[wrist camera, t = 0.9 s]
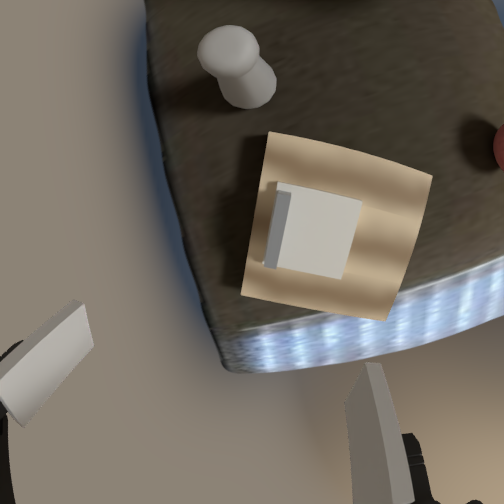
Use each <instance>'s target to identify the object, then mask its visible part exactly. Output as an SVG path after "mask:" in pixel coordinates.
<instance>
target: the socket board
mask: <svg viewBox="0 0 504 504" xmlns="http://www.w3.org/2000/svg"><path fill="white" fill-rule="evenodd" d="M278 181H280V182H285V183H290V184H295V185H300V186H305V187H309V188H314V189H318V190H323V191H327V192H331V193H336V194H340V195H344V196H348V197H352V198H356V199H360V200H362V201H363V202H362V206H361V210H360V214H359V218H358V222H357V226H356V230H355V234H354V237H353V241H352V244H351V248H350V251H349V255H348V258H347V262H346V265H345V268H344V272H343V275H342V278H341V280H340V279H335V278H330V277H325V276H320V275H315V274H310V273H305V272H300V271H295V270H291V269H286V268H281V267H277V268H276V269H271V268H266V267H264V264H262V262H263V257H264V252H265V247H266V242H267V237H268V231H269V226H270V221H271V215H272V210H273V205H274V199H275V194H276V189H277V183H278ZM431 181H432V176H431V175H429V174H426V173H423V172H421V171H418V170H415V169H413V168H410V167H407V166H404V165H401V164H398V163H395V162H392V161H389V160H386V159H383V158H379V157H376V156H373V155H369V154H366V153H363V152H359V151H355V150H352V149H348V148H344V147H340V146H336V145H332V144H328V143H324V142H319V141H315V140H310V139H306V138H301V137H296V136H291V135H285V134H280V133H274V132H269V134H268V140H267V145H266V151H265V157H264V162H263V168H262V174H261V180H260V185H259V191H258V197H257V203H256V209H255V214H254V220H253V226H252V232H251V238H250V244H249V249H248V255H247V261H246V267H245V273H244V279H243V285H242V291H241V295H244V296H249V297H253V298H258V299H263V300H268V301H273V302H277V303H282V304H288V305H293V306H298V307H303V308H308V309H314V310H319V311H325V312H331V313H336V314H342V315H348V316H354V317H360V318H367V319H373V320H379V321H386V319H387V316H388V314H389V312H390V310H391V307H392V305H393V302H394V300H395V298H396V295H397V293H398V290H399V288H400V285H401V282H402V280H403V277H404V274H405V272H406V269H407V266H408V263H409V260H410V257H411V254H412V251H413V248H414V245H415V242H416V239H417V235H418V232H419V229H420V225H421V222H422V218H423V214H424V210H425V206H426V202H427V198H428V194H429V190H430V185H431Z"/></svg>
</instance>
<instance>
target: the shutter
mask: <svg viewBox="0 0 504 504" xmlns="http://www.w3.org/2000/svg"><path fill="white" fill-rule="evenodd" d="M362 202H363V201H362V200H360V199H356V198H352V197H348V196H344V195H340V194H336V193H331V192H327V191H323V190H318V189H314V188H309V187H305V186H300V185H295V184H290V183H285V182H280V181H278V183H277V189H276V194H275V199H274V205H273V210H272V215H271V221H270V226H269V231H268V237H267V242H266V247H265V252H264V257H263V262H262V264H264V267H266V268H271V269H276V268H277V267H281V268H286V269H291V270H295V271H300V272H305V273H310V274H315V275H320V276H325V277H330V278H335V279H340V280H341V278H342V275H343V272H344V268H345V265H346V262H347V258H348V255H349V251H350V248H351V244H352V241H353V237H354V234H355V230H356V226H357V222H358V218H359V214H360V210H361V206H362Z"/></svg>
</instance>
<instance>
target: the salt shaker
mask: <svg viewBox="0 0 504 504" xmlns="http://www.w3.org/2000/svg"><path fill="white" fill-rule="evenodd" d="M197 56H198V58H199V60H200V63H201V65H202V67H203V68H204V69H205V70H206V71H207V72H209V73H210V74H211V75H213V76H214V77H217V80H218V83H219V87H220V90H221V92H222V94H223V96H224V98H225V99H226V100H227V101H228V102H229V103H230V104H232V105H233V106H236V107H240V108H244V109H251V108H258V107H260V106H262V105H263V104H265V103H266V102H268V101H269V100H270V99H271V97H272V96H273V94H274V92H275V91H276V80H277V79H276V77H275V74H274V72H273V70H272V68H271V67H270V66H269V65H268V64H267V63H266V62H265V61H264V60H263V59H262V58H261V57H260V56H259V45H258V43H257V41H256V39H255V37H254V35H253V34H252V33H250V32H249V31H247V30H246V29H244V28H243V27H239V26H233V25H227V26H222V27H218V28H215V29H214V30H212V31H211V32H209V33H207V34H206V35H205V36H204V38H203V39H202V41H201V42H200V43H199V47H198V53H197Z"/></svg>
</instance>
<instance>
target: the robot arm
mask: <svg viewBox="0 0 504 504" xmlns="http://www.w3.org/2000/svg"><path fill="white" fill-rule="evenodd" d="M93 347H94V343H93V340H92V336H91V332H90V327H89V323H88V319H87V314H86V310H85V305H84V303H82V302H79V301H77V300H72V301H71V302H70V303H69V304H67V305H66V306H65V307H63V308H62V309H61V310H60V311H59V312H57V313H56V314H55V315H54V316H52V317H51V318H50V319H49V320H48V321H46V322H45V323H44V324H43V325H42V326H40V327H39V328H38V329H37V330H36V331H34V332H33V333H32V334H31V335H30V336H29V337H27V338H26V339H25V340H22V341H19V342H17V343H16V344H14V345H12V346H11V347H10V348H9V349H8V350H7V352H5V353H4V354H3V355H2V357H1V356H0V504H16V503H15V499H14V493H13V487H12V481H11V473H10V463H9V450H8V418H7V415H6V413H7V412H9V414H10V415H11V416H12V418H13V419H14V420H15V421H16V422H17V423H18V424H20V425H21V426H22V427H23V428H25V426H26V425H27V424H28V422H29V421H30V420H31V419H32V417H33V416H34V415H35V414H36V413H37V411H38V410H39V409H40V408H41V406H42V405H43V404H44V403H45V402H46V400H47V399H48V398H49V397H50V395H51V394H52V393H53V392H54V391H55V389H57V387H58V386H59V385H60V384H61V383H62V381H63V380H64V379H65V378H66V377H67V376H68V375H69V373H70V372H71V371H72V370H73V369H74V368H75V367H76V365H77V364H78V363H79V362H80V361H81V360H82V359H83V358H84V357H85V356H86V354H87V353H88V352H89V351H90V350H91V349H92V348H93ZM344 404H345V412H346V420H347V428H348V438H349V450H350V461H351V475H352V493H353V504H440V503H439V502H438V501H435V500H434V499H433V497H432V494H431V490H430V485H429V480H428V476H427V471H426V467H425V465H424V459H423V456H422V451H421V448H420V444H419V442H418V440H417V439H416V438H415V436H414V435H413V433H408V434H401V431H400V427H399V423H398V420H397V415H396V412H395V408H394V405H393V402H392V398H391V394H390V391H389V388H388V385H387V381H386V378H385V375H384V372H383V369H382V366H381V363H368V362H367V363H366V362H365V364H364V366H363V368H362V370H361V372H360V374H359V376H358V378H357V380H356V382H355V384H354V386H353V388H352V389H351V391H350V393H349V395H348V397H347V398H346V400H345V402H344ZM467 504H483V503H482V502H481V501H478V500H472V501H470V502H468V503H467Z"/></svg>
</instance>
